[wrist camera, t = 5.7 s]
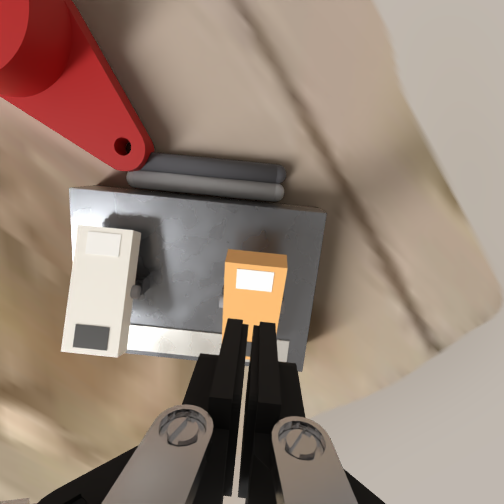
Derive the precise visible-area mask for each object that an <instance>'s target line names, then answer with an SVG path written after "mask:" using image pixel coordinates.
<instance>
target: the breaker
mask: <svg viewBox="0 0 504 504" xmlns="http://www.w3.org/2000/svg"><path fill="white" fill-rule="evenodd" d="M140 239H141V233H140V232H137V231H134V230H126V229H116V228H106V227H96V226H86V225H78V229H77V236H76V244H75V251H74V259H73V266H72V273H71V281H70V288H69V296H68V303H67V311H66V318H65V325H64V333H63V340H62V348H61V352H70V353H80V354H89V355H99V356H108V357H119V356H121V355H122V354H124V353H125V352H127V344H128V336H129V328H130V320H131V312H132V304H133V299H138V298H139V296H140V293H141V287H140V286H137V285H135V279H136V271H137V263H138V255H139V247H140Z"/></svg>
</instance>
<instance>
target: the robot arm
mask: <svg viewBox="0 0 504 504" xmlns="http://www.w3.org/2000/svg"><path fill="white" fill-rule="evenodd" d="M248 326H249V324H243V320H241V319H231V318H228V319H227V324H226V328H225V332H224V336H223V340H222V344H221V349H220V353H219V355H213V354H204V353H200V355H199V357H198V360H197V363H196V366H195V369H194V371H193V374H192V377H191V380H190V383H189V386H188V389H187V392H186V395H185V398H184V400H183V403H182V405H177V406H174V407H171V408H168V409H167V410H165V411H164V412H162V413H161V414H160V415H159V416H158V417H157V418H156V419H155V421H154V422H153V424H152V425H151V427H150V428H149V430H148V432H147V433H146V435H145V436H144V438H143V439H142V441H141V443H140V444H139V445H138V446H136V447H134V448H132V449H131V450H129V451H127V452H125V453H123V454H121V455H119V456H118V457H116V458H114V459H112V460H110V461H108V462H106V463H105V464H103V465H101V466H99V467H97V468H95V469H93V470H92V471H90V472H88V473H86V474H84V475H82V476H80V477H78V478H77V479H75V480H73V481H71V482H69V483H67V484H65V485H64V486H62V487H60V488H58V489H56V490H54V491H53V492H51V493H50V494H48V495H47V496H45V497H44V498H42V499H41V500H40V501H39V502H38V503H35V504H222V503H223V496H231V495H232V486H233V476H234V466H235V457H236V447H237V437H238V428H239V418H240V408H241V398H242V388H243V378H244V368H245V357H246V347H247V337H248ZM238 497H241V498H246V502H245V504H385V503H384V502H383V501H382V500H380V499H379V498H378V497H377V496H376V495H375V494H373V493H372V492H371V491H370V490H369V489H367V488H366V487H365V486H364V485H363V484H361V483H360V482H359V481H358V480H356V479H355V478H354V477H353V476H352V475H350V474H349V473H348V472H347V471H345V470H344V469H343V467H342V465H341V462H340V460H339V457H338V455H337V453H336V450H335V448H334V446H333V443H332V441H331V438H330V437H329V435H328V433H327V432H326V431H325V430H324V429H323V428H322V427H321V426H320V425H319V424H317V423H315V422H314V421H312V420H310V419H307V418H305V413H304V407H303V401H302V395H301V389H300V383H299V377H298V371H297V365H296V363H289V362H280V361H278V351H277V338H276V324H275V323H269V322H260V324H259V325H254V326H253V334H252V344H251V353H250V362H249V372H248V381H247V390H246V401H245V414H244V426H243V439H242V452H241V466H240V479H239V491H238ZM0 504H30V502H29V498H25V499H17V500H8V501H0Z"/></svg>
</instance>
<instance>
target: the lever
mask: <svg viewBox="0 0 504 504" xmlns="http://www.w3.org/2000/svg"><path fill="white" fill-rule="evenodd" d="M0 97H2V98H4V99H5V100H7V101H8V102H10V103H11V104H13V105H15V106H16V107H18V108H19V109H21V110H22V111H24V112H26V113H27V114H29V115H30V116H32V117H33V118H35V119H37V120H38V121H40V122H41V123H43V124H45V125H46V126H48V127H49V128H51V129H52V130H54V131H56V132H57V133H59V134H60V135H62V136H63V137H65V138H67V139H68V140H70V141H71V142H73V143H74V144H76V145H78V146H79V147H81V148H82V149H84V150H85V151H87V152H89V153H90V154H92V155H93V156H95V157H97V158H98V159H100V160H101V161H103V162H104V163H106V164H108V165H109V166H111V167H112V168H114V169H116V170H120V171H130V172H131V171H138V170H140V169H142V168H143V166H144V165H145V163H146V162H147V160H148V157H149V155H150V154H151V152H154V145H153V142H152V140H151V138H150V137H149V135H148V133H147V131H146V130H145V128H144V126H143V124H142V122H141V121H140V119H139V117H138V115H137V114H136V112H135V110H134V108H133V107H132V105H131V103H130V101H129V99H128V98H127V96H126V94H125V92H124V91H123V89H122V87H121V85H120V83H119V82H118V80H117V78H116V76H115V75H114V73H113V71H112V69H111V67H110V66H109V64H108V62H107V60H106V59H105V57H104V55H103V53H102V52H101V50H100V48H99V46H98V44H97V43H96V41H95V39H94V37H93V36H92V34H91V32H90V30H89V28H88V27H87V25H86V23H85V21H84V20H83V18H82V16H81V14H80V12H79V11H78V9H77V7H76V6H75V4H74V3H73V2H72V0H0ZM128 142H130V143H131V151H130V153H129V154H127V152H126V145H127V143H128Z"/></svg>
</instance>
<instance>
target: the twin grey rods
mask: <svg viewBox="0 0 504 504" xmlns="http://www.w3.org/2000/svg"><path fill="white" fill-rule="evenodd" d="M285 178H286V170H285V168H284V167H283V166H281V165H278V164H267V163H257V162H247V161H237V160H226V159H216V158H206V157H196V156H186V155H175V154H165V153H155V152H151V154H150V155H149V157H148V160H147V162H146V163H145V165H144V166H143V168H142V169H140V170H138V171H131V172H130V171H129V172H128V173H127V177H126V179H127V182H128V184H129V185H130V186H132V187H134V188H142V189H152V190H162V191H172V192H182V193H192V194H202V195H212V196H222V197H233V198H243V199H253V200H263V201H273V202H276V201H279V200H281V199H282V198H283V196H284V188H283V187H282V185H280V183H282V182H283V181H284V180H285Z"/></svg>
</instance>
